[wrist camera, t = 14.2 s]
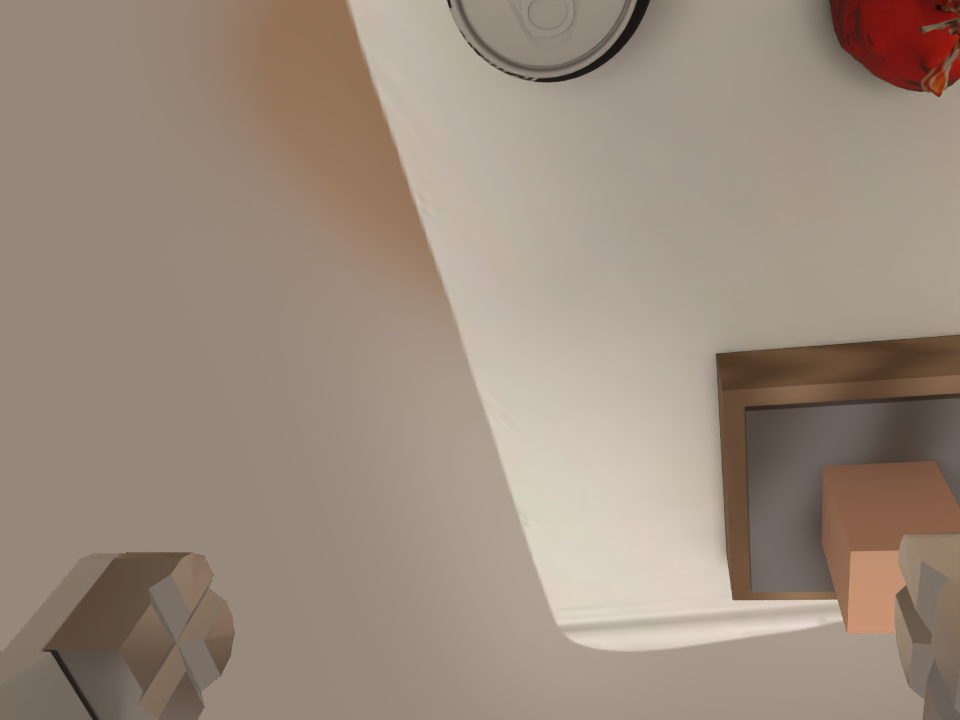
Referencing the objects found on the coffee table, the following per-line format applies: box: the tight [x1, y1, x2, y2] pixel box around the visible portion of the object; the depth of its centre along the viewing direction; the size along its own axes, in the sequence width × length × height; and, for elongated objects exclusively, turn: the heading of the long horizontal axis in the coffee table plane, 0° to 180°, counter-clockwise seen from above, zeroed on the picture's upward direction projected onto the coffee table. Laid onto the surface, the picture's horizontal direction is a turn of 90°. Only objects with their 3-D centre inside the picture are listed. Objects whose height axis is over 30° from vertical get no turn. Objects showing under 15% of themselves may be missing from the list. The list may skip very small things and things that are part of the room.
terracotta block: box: [822, 461, 960, 634], centre depth 38 cm, size 5×5×6 cm
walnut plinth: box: [716, 335, 960, 600], centre depth 42 cm, size 14×14×4 cm
